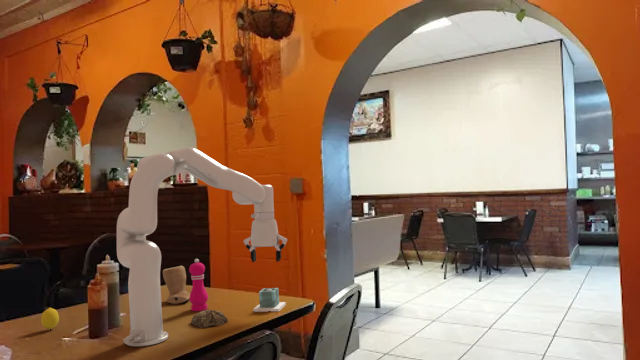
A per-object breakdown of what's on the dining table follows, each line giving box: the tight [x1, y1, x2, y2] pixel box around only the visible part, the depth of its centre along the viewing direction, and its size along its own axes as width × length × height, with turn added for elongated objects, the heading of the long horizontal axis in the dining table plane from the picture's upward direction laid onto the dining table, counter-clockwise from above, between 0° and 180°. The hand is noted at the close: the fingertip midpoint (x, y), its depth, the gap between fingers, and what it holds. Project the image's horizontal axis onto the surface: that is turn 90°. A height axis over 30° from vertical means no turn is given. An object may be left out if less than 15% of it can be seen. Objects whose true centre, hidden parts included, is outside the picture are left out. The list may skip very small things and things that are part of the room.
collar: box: [258, 287, 280, 308], centre depth 181 cm, size 6×6×6 cm
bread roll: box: [191, 308, 229, 329], centre depth 166 cm, size 13×12×5 cm
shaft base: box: [252, 289, 287, 313], centre depth 181 cm, size 10×10×7 cm
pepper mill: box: [188, 258, 209, 312], centre depth 187 cm, size 7×7×20 cm
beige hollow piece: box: [162, 265, 191, 305], centre depth 204 cm, size 15×12×15 cm
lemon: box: [40, 307, 60, 330], centre depth 169 cm, size 6×6×8 cm
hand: (266, 261), depth 181 cm, fingers open, 9 cm apart
